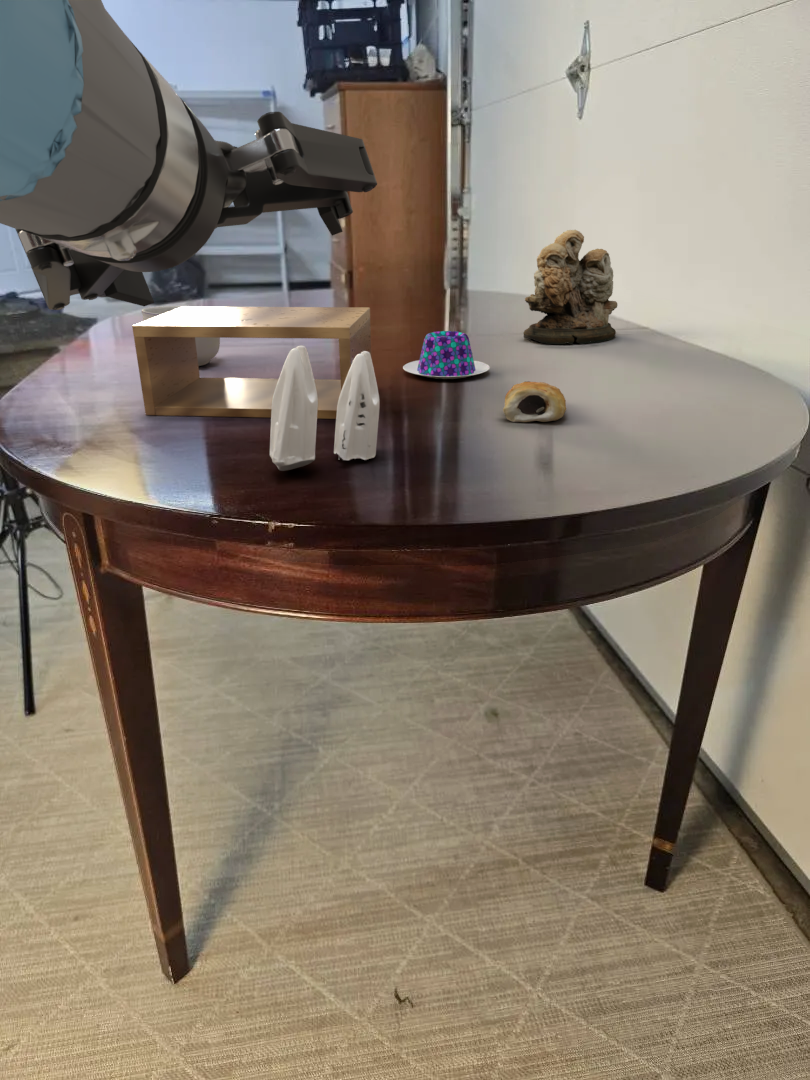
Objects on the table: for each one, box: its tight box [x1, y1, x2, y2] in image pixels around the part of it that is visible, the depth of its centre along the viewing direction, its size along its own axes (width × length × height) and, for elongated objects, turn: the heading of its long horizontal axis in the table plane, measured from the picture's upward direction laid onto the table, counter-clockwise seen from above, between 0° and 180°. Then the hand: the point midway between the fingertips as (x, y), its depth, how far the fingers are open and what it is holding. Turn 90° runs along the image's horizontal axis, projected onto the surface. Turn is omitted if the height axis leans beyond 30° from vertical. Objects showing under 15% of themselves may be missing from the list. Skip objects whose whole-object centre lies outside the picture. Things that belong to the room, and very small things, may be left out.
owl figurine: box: [523, 229, 618, 345], centre depth 127 cm, size 18×12×17 cm, turn 120°
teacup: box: [141, 305, 221, 367], centre depth 111 cm, size 14×11×8 cm
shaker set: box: [269, 345, 381, 472], centre depth 69 cm, size 12×4×11 cm, turn 126°
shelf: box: [131, 305, 372, 420], centre depth 92 cm, size 24×15×10 cm, turn 84°
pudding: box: [402, 330, 491, 380], centre depth 106 cm, size 12×12×5 cm
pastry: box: [502, 380, 567, 423], centre depth 87 cm, size 9×7×4 cm
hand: (234, 249), depth 51 cm, fingers open, 13 cm apart
